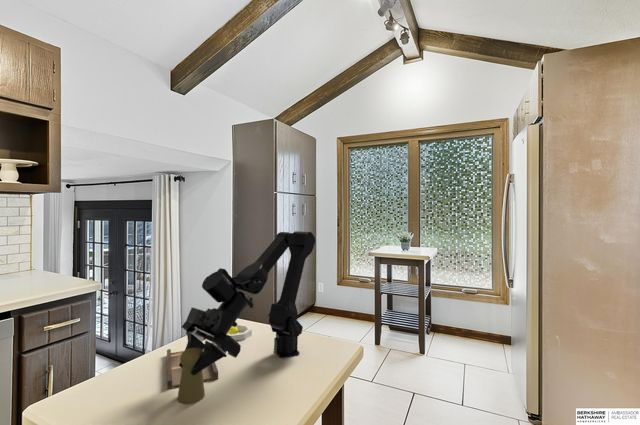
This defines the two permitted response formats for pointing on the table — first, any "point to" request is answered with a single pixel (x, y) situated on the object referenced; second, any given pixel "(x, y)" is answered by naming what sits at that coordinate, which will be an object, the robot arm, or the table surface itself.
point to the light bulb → (233, 330)
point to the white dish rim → (242, 335)
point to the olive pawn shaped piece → (190, 378)
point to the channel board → (176, 370)
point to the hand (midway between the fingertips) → (186, 370)
